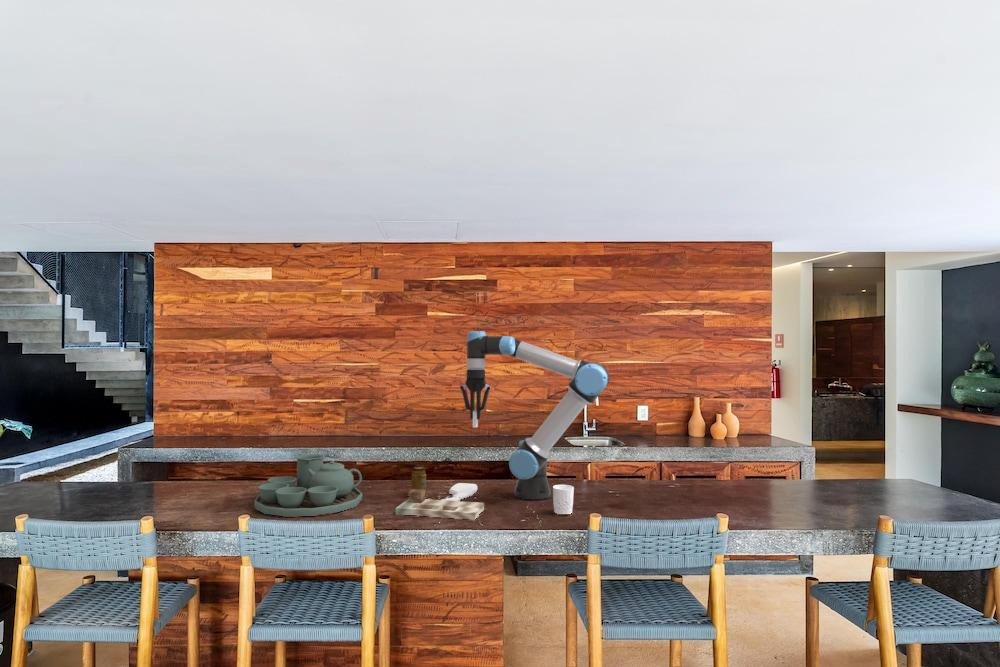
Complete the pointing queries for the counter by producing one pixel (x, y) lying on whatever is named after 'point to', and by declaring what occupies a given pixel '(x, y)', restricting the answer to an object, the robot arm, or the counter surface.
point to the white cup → (563, 499)
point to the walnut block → (416, 496)
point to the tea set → (310, 489)
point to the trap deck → (442, 509)
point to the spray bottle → (461, 491)
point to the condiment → (418, 478)
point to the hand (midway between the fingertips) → (475, 427)
